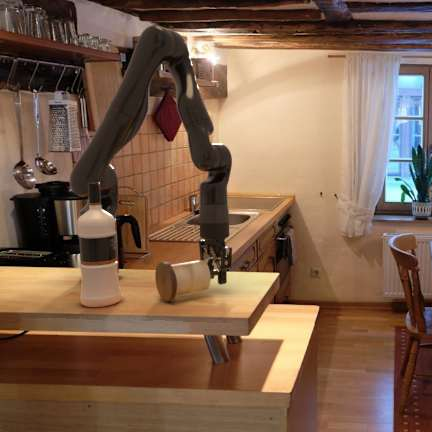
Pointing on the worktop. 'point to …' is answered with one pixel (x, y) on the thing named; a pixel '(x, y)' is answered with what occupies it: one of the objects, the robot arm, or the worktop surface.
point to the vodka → (98, 254)
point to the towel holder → (182, 278)
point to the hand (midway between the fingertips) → (216, 281)
